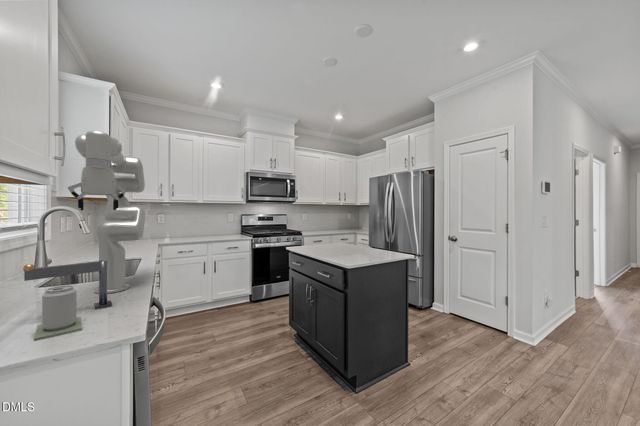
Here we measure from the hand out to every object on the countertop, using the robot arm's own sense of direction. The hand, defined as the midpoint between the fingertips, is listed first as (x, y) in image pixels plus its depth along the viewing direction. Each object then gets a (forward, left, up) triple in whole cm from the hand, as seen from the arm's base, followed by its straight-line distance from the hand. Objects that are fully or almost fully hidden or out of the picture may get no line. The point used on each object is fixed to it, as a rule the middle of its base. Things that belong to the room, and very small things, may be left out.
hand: (98, 210), depth 102 cm
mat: (+18, -10, -36) cm, 42 cm away
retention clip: (+3, -8, -35) cm, 36 cm away
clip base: (+2, +1, -36) cm, 36 cm away
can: (+18, -10, -36) cm, 41 cm away
